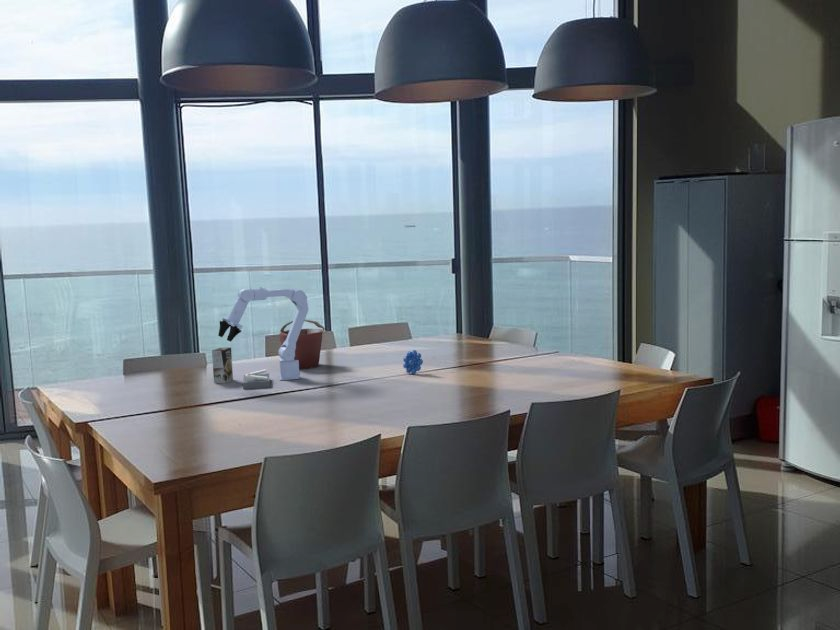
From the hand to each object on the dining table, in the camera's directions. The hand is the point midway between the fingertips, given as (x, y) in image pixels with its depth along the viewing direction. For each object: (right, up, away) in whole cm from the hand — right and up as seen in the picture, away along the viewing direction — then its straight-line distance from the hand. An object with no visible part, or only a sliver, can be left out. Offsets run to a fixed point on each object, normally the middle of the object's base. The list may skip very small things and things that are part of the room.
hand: (224, 338), depth 394 cm
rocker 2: (+16, -18, -3) cm, 24 cm away
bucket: (+31, -16, +46) cm, 58 cm away
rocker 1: (+14, -17, +8) cm, 23 cm away
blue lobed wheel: (+90, -18, +14) cm, 93 cm away
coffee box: (-4, -21, +13) cm, 26 cm away
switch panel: (+15, -22, +3) cm, 26 cm away
